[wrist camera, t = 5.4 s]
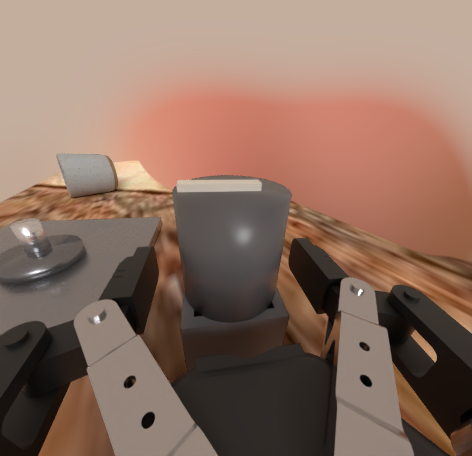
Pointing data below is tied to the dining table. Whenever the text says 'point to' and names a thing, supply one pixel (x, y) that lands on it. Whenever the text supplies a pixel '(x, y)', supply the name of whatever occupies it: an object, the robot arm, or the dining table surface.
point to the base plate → (63, 265)
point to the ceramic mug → (87, 173)
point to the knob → (231, 264)
